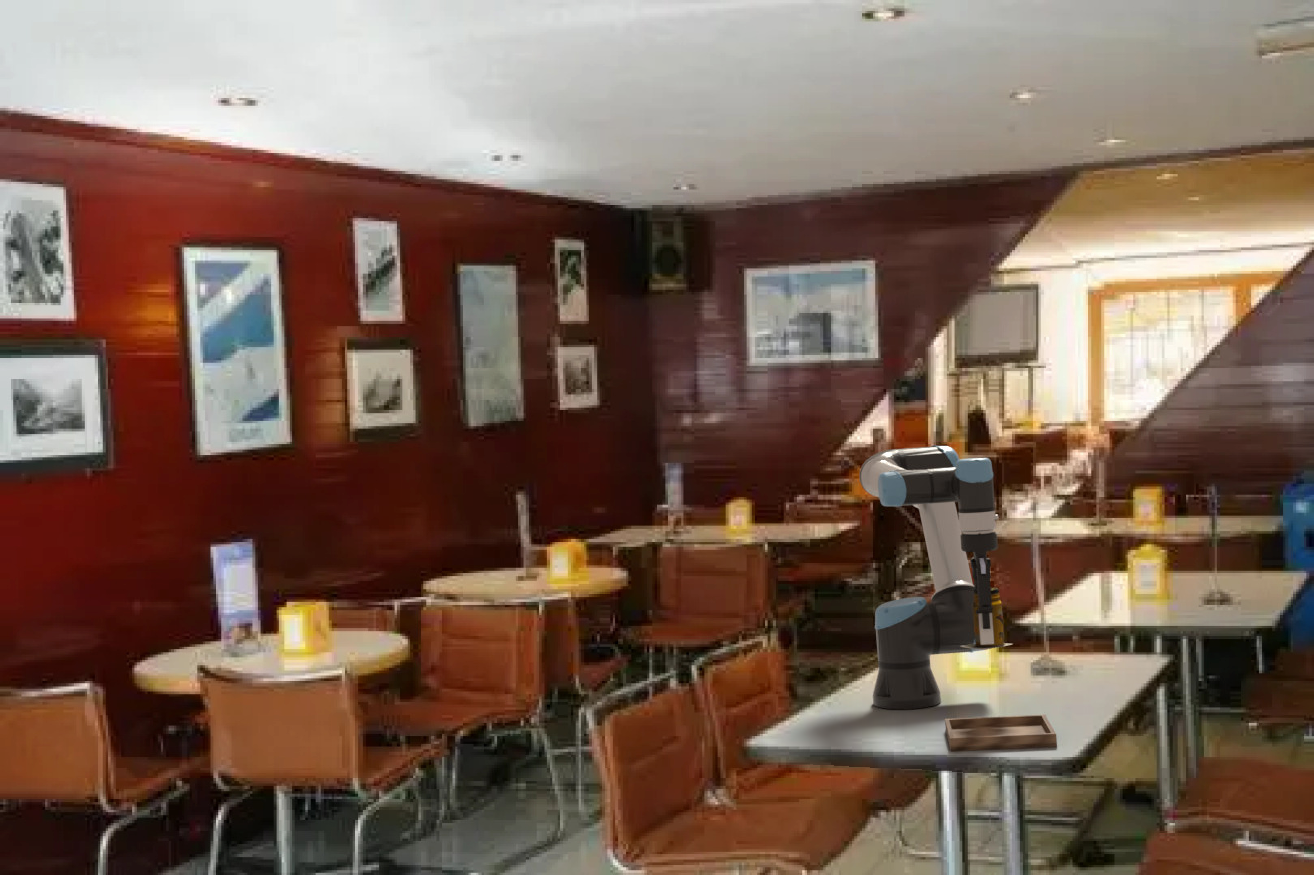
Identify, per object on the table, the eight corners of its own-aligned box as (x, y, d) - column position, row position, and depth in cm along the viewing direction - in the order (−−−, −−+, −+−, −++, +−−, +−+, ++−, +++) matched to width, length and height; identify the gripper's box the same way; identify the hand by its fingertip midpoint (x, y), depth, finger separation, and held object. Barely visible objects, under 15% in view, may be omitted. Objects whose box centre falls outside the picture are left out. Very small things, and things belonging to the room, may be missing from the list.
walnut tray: (950, 751, 287) (949, 738, 287) (945, 731, 305) (944, 719, 305) (1057, 746, 285) (1056, 733, 284) (1045, 726, 302) (1044, 714, 302)
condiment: (1013, 644, 312) (1009, 587, 311) (985, 650, 307) (981, 592, 307) (987, 641, 318) (983, 585, 317) (959, 647, 313) (955, 590, 313)
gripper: (1000, 534, 302) (1008, 648, 303) (992, 526, 321) (1000, 633, 322) (963, 536, 303) (971, 649, 304) (957, 529, 322) (964, 635, 323)
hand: (986, 641), depth 313 cm, fingers closed on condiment, 6 cm apart
